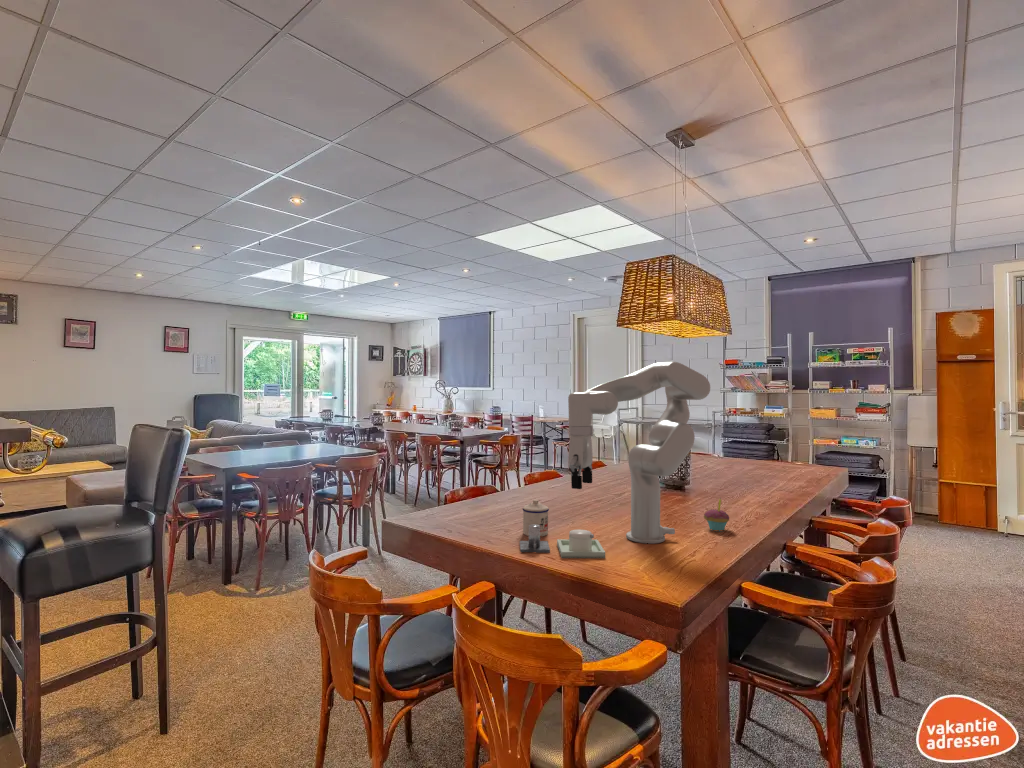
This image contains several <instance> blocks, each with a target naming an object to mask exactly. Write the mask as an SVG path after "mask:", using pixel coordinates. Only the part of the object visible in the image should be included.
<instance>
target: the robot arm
mask: <svg viewBox="0 0 1024 768" xmlns="http://www.w3.org/2000/svg"><path fill="white" fill-rule="evenodd" d="M661 388H664V390H665V391H664V392H665V396H666V407H665V410H664V411H663V413H662V414H661V415H660V417H659V418H658V419H657V420H656V421H655V423H654V425H653V426H652V427H651V429H650V431H649V433H648V440H649V443H650V444H648V443H647V444H645V443H642V444H641V443H640V444H637V445H634V446H633V447H631V449H630V450H629V453H628V456H627V460H628V466H629V467H628V468H629V473H630V531H627V532H626V534H625V536H626V539H627V540H629V541H631V542H636V543H638V544H647V543H648V544H660V543H663V542H665V541H666V536H665V535H675V534H676V530H675V529H676V528H674V527H671V528H670V527H667V526H662V524H661V484H660V480H659V477H665V478H666V477H669V476H672V475H673V474H674V473H675V472H676V471H677V470H678V468H679V467H680V466H681V464H682V463H683V461H684V460H685V458H687V456H688V454H689V453H690V451H691V450H692V448H693V446H694V443H695V439H696V437H695V436H696V435H695V432H694V429H693V427H692V426H691V425H690V424H688V422H689V420H690V416H691V414H690V409H689V408H690V407H689V405H688V401H701V400H704V399H705V398H707V397H708V396H709V394H710V392H711V383H710V381H709V379H708V378H707V377H706V376H705V375H704V374H702V373H700V372H698V371H696V370H695V369H692V368H691V367H689V366H687V365H684V364H683V363H681V362H677V361H663V362H655V363H652V364H650V365H647V366H645V367H643V368H641V369H639V370H636V371H634V372H632V373H629V374H628V375H625V376H622V377H618V378H616V379H613V380H610V381H607V382H604V383H601V384H598V385H597V386H593V387H592V388H590V389H587V390H586V391H583V392H582V391H581V392H580V391H579V392H578V391H577V392H576V391H575V392H571V393H570V394H568V397H567V398H568V437H569V442H568V443H569V444H568V468H569V469H570V476H571V477H570V479H571V489H574V490H583V484H592V483H593V443H592V441H593V439H592V437H594V421H593V420H594V418H593V417H594V416H593V415H600V416H601V415H604V416H605V415H610V414H612V413H614V412H615V411H616V410H617V409H618V407H619V402H628V401H634V400H638V399H641V398H642V397H645V396H646V395H648V394H651V393H653V392H655V391H657V390H658V389H661Z"/></svg>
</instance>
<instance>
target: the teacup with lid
mask: <svg viewBox="0 0 1024 768" xmlns="http://www.w3.org/2000/svg"><path fill="white" fill-rule="evenodd" d="M549 510H550V508H549V507H548V506H547V505H545V504H543V503H542V502H539V499H533V500H532V502H529V504H526V505H524V506H523V507H522V512H523V513H522V515H523V516H522V524H523V525H522V534H524V535H525V536H527V537H529V525H533V524H535V525H540V536H542V537H545V536H548V534H549Z"/></svg>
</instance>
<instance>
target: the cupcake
mask: <svg viewBox="0 0 1024 768" xmlns="http://www.w3.org/2000/svg"><path fill="white" fill-rule="evenodd" d="M721 504H722V497H719V498H718V505H717V506H718V507H717V509H709V510H707V511H705V513H704V514H703V518H704V520H706V521H707V524H708V527H709V530H711V529H712V530H711V531H713V530H719V531H718V532H721V531H720V530H724V531H725V529H726V526H727V523H728V522H729V521H730V516H729V514H728V513H727V512H726V511H724V510H721Z"/></svg>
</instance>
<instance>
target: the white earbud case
mask: <svg viewBox="0 0 1024 768" xmlns="http://www.w3.org/2000/svg"><path fill="white" fill-rule="evenodd" d="M568 535H569V536H568V539H569V549H570V550H571V551H591V550H592V540H593V539H594V538H595V536H594V533H592V531H590V530H588V529H587V530H586V529H572V530H570V531H569V534H568Z"/></svg>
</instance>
